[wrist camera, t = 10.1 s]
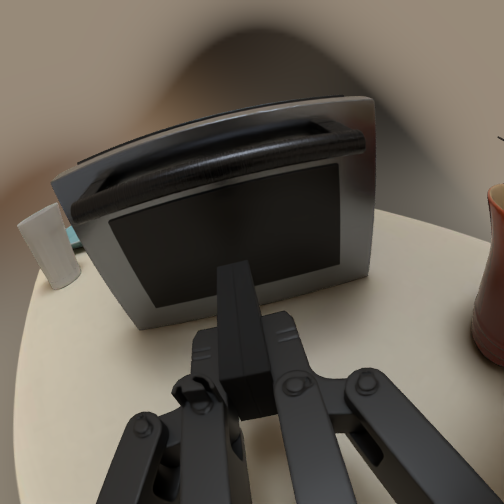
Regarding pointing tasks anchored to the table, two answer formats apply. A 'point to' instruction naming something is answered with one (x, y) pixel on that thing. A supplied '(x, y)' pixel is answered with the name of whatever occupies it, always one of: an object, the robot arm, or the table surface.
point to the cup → (51, 246)
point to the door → (230, 207)
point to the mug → (492, 287)
